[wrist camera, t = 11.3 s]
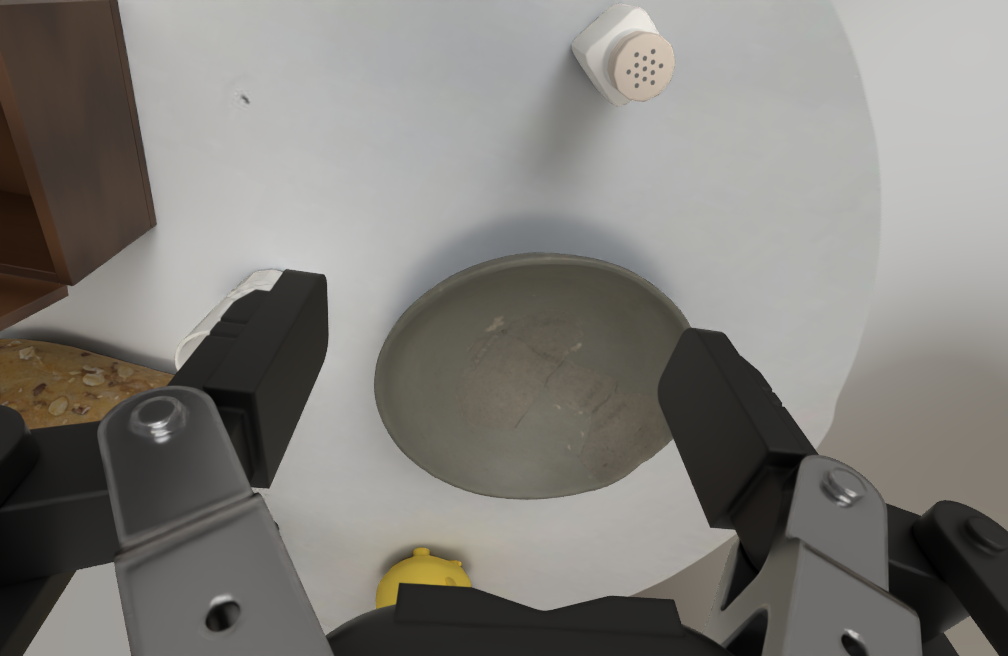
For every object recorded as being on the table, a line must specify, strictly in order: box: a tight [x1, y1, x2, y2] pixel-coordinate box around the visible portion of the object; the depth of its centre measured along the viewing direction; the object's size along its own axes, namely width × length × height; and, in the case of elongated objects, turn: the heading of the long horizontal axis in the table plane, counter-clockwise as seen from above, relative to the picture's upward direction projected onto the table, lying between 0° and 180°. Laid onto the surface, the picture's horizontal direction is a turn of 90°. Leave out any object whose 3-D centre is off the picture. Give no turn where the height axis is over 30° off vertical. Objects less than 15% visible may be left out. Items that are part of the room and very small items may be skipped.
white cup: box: [175, 269, 283, 372], centre depth 40 cm, size 8×8×10 cm
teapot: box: [376, 547, 471, 609], centre depth 67 cm, size 14×14×12 cm
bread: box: [0, 339, 175, 429], centre depth 47 cm, size 24×21×12 cm
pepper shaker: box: [571, 3, 675, 107], centre depth 29 cm, size 4×4×10 cm
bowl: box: [374, 253, 691, 500], centre depth 44 cm, size 27×28×8 cm
